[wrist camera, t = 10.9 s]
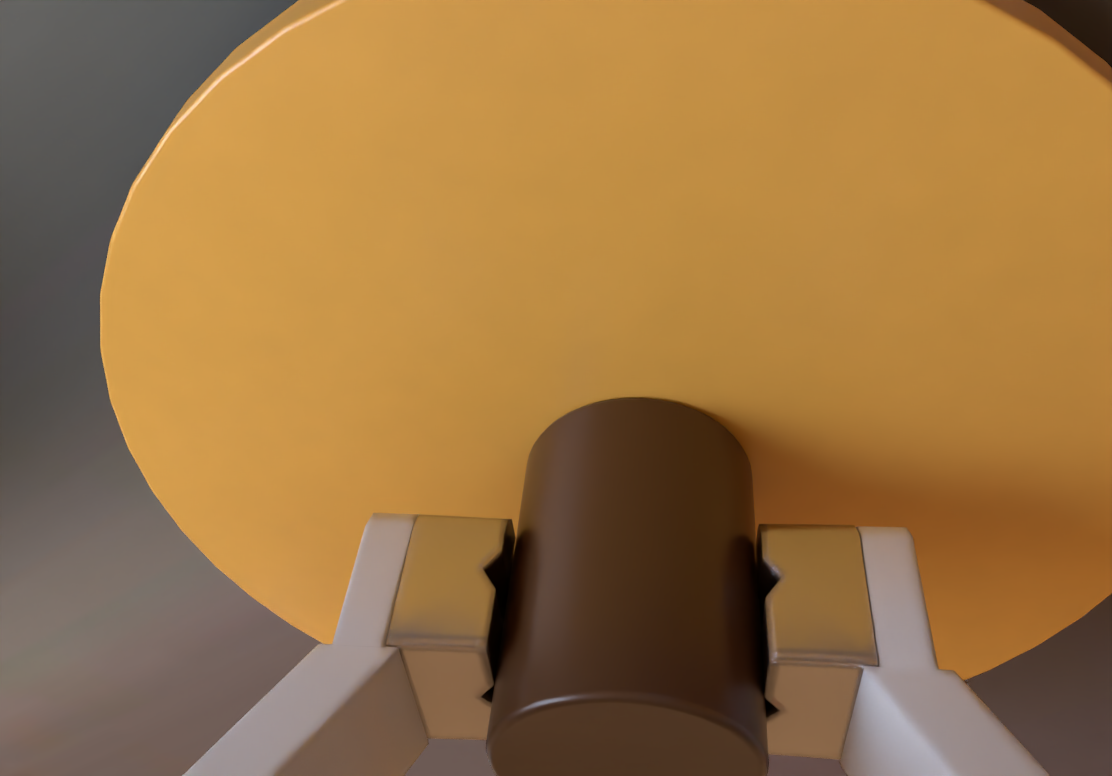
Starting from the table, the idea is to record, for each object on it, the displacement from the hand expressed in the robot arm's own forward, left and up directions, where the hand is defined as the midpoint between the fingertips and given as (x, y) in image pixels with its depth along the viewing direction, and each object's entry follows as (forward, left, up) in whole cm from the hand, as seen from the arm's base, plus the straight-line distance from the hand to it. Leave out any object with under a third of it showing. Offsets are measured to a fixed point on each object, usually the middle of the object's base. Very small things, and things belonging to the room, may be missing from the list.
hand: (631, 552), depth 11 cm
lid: (0, 0, -2) cm, 2 cm away
